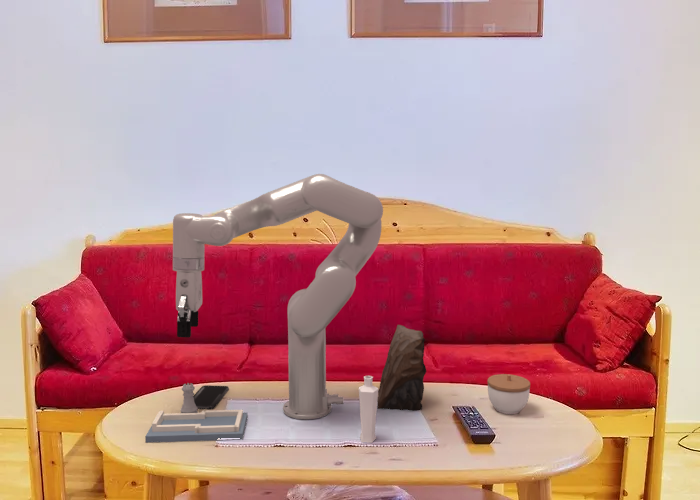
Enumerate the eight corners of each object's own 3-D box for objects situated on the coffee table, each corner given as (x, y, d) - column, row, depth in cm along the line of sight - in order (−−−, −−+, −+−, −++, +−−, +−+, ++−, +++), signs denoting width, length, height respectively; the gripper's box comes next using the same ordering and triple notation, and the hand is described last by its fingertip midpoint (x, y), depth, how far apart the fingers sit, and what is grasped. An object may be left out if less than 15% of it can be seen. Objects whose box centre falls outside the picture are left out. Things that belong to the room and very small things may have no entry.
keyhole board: (247, 418, 152) (247, 404, 152) (242, 439, 140) (242, 425, 140) (158, 420, 151) (157, 407, 150) (145, 442, 139) (144, 428, 138)
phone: (184, 405, 158) (202, 385, 173) (184, 410, 158) (203, 388, 173) (213, 406, 157) (230, 385, 172) (213, 411, 157) (230, 389, 172)
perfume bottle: (364, 445, 137) (364, 382, 135) (355, 438, 141) (355, 376, 139) (381, 441, 139) (382, 378, 137) (372, 434, 143) (372, 373, 141)
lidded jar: (526, 420, 151) (528, 384, 150) (483, 414, 155) (484, 378, 154) (531, 405, 161) (532, 371, 159) (490, 399, 165) (491, 365, 163)
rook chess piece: (201, 414, 154) (200, 384, 153) (186, 420, 151) (185, 389, 150) (192, 410, 157) (190, 380, 156) (176, 415, 154) (175, 384, 153)
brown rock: (390, 391, 170) (391, 322, 167) (434, 398, 165) (435, 327, 162) (374, 408, 158) (375, 334, 156) (421, 416, 154) (423, 339, 151)
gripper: (197, 270, 141) (196, 341, 143) (209, 259, 158) (208, 323, 160) (164, 269, 140) (164, 341, 142) (180, 258, 157) (179, 322, 159)
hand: (187, 331), depth 151 cm, fingers open, 9 cm apart
